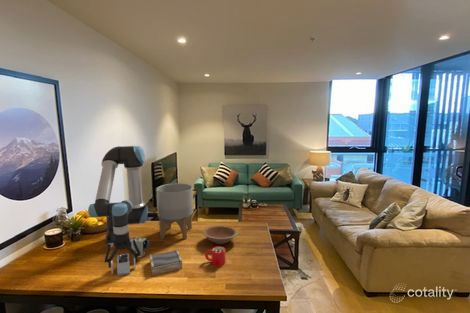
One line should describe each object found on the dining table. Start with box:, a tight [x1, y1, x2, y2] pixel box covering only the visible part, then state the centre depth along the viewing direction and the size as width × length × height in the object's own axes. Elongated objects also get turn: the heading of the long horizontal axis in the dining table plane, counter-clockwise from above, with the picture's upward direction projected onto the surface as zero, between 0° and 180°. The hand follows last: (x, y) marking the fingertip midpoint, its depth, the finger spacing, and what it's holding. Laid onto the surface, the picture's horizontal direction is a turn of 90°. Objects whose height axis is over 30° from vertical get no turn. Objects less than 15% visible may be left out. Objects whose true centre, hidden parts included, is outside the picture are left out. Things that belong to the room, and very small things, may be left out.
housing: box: [116, 252, 131, 277], centre depth 143 cm, size 10×6×7 cm, turn 23°
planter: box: [156, 182, 194, 240], centre depth 187 cm, size 25×25×34 cm
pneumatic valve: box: [129, 236, 151, 258], centre depth 158 cm, size 6×12×12 cm, turn 78°
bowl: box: [202, 224, 239, 245], centre depth 176 cm, size 24×24×8 cm
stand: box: [149, 248, 183, 276], centre depth 148 cm, size 14×16×5 cm
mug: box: [204, 246, 226, 267], centre depth 151 cm, size 8×12×8 cm, turn 86°
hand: (123, 270), depth 144 cm, fingers open, 11 cm apart
